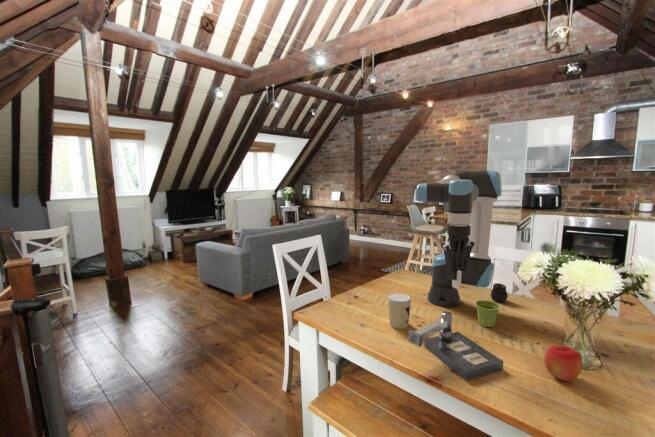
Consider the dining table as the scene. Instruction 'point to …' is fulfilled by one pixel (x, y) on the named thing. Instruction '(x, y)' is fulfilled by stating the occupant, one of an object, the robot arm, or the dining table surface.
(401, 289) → the dining table surface
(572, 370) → the apple
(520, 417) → the dining table surface
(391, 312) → the coffee cup
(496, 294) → the mate gourd
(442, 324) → the grey bar
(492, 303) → the plant pot
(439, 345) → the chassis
